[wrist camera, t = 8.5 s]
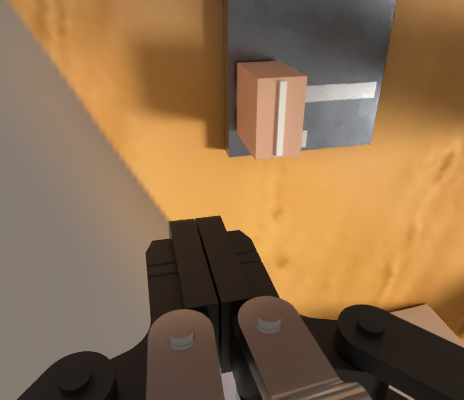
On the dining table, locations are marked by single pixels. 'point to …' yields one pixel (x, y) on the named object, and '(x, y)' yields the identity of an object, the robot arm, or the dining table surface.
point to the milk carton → (426, 326)
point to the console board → (313, 62)
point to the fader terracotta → (270, 108)
